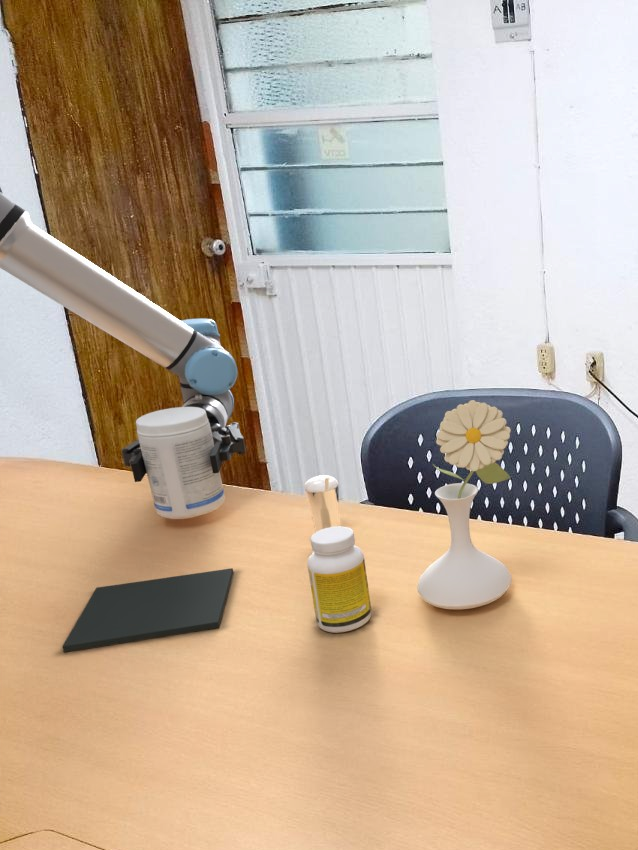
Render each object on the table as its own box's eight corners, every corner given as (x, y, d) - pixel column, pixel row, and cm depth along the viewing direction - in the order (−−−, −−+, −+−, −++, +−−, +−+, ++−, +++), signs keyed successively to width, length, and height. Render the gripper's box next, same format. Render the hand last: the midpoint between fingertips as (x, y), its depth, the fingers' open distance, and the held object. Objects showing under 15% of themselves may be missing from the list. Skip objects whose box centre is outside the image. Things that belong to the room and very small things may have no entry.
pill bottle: (383, 617, 97) (372, 532, 93) (337, 640, 93) (324, 551, 89) (351, 601, 101) (340, 518, 97) (306, 623, 96) (292, 536, 93)
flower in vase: (400, 611, 98) (376, 410, 90) (445, 567, 108) (427, 383, 100) (502, 627, 94) (487, 418, 86) (538, 580, 105) (528, 389, 96)
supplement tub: (230, 493, 130) (213, 403, 125) (220, 516, 122) (202, 421, 117) (163, 500, 128) (143, 409, 123) (148, 525, 119) (126, 428, 114)
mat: (63, 652, 92) (61, 646, 91) (97, 593, 104) (96, 587, 104) (219, 627, 96) (217, 621, 96) (233, 573, 108) (232, 567, 108)
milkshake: (320, 549, 115) (310, 482, 111) (308, 536, 119) (297, 471, 115) (352, 540, 117) (343, 474, 114) (339, 527, 121) (330, 463, 118)
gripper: (121, 408, 134) (82, 452, 114) (267, 395, 140) (254, 435, 120) (131, 452, 137) (94, 502, 116) (273, 437, 143) (262, 483, 122)
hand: (175, 468), depth 118 cm, fingers closed on supplement tub, 9 cm apart
